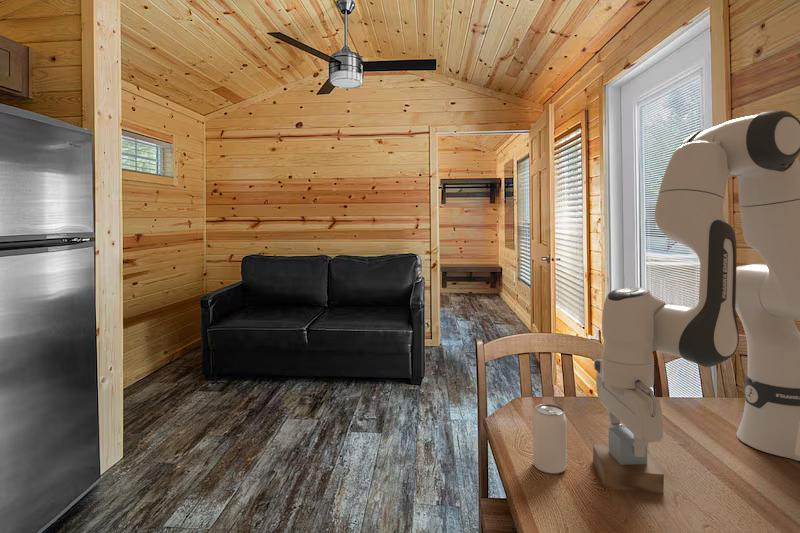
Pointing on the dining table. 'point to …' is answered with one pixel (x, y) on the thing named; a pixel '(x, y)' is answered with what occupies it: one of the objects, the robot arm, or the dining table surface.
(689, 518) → the dining table surface
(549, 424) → the can
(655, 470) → the walnut block
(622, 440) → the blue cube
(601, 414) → the dining table surface
